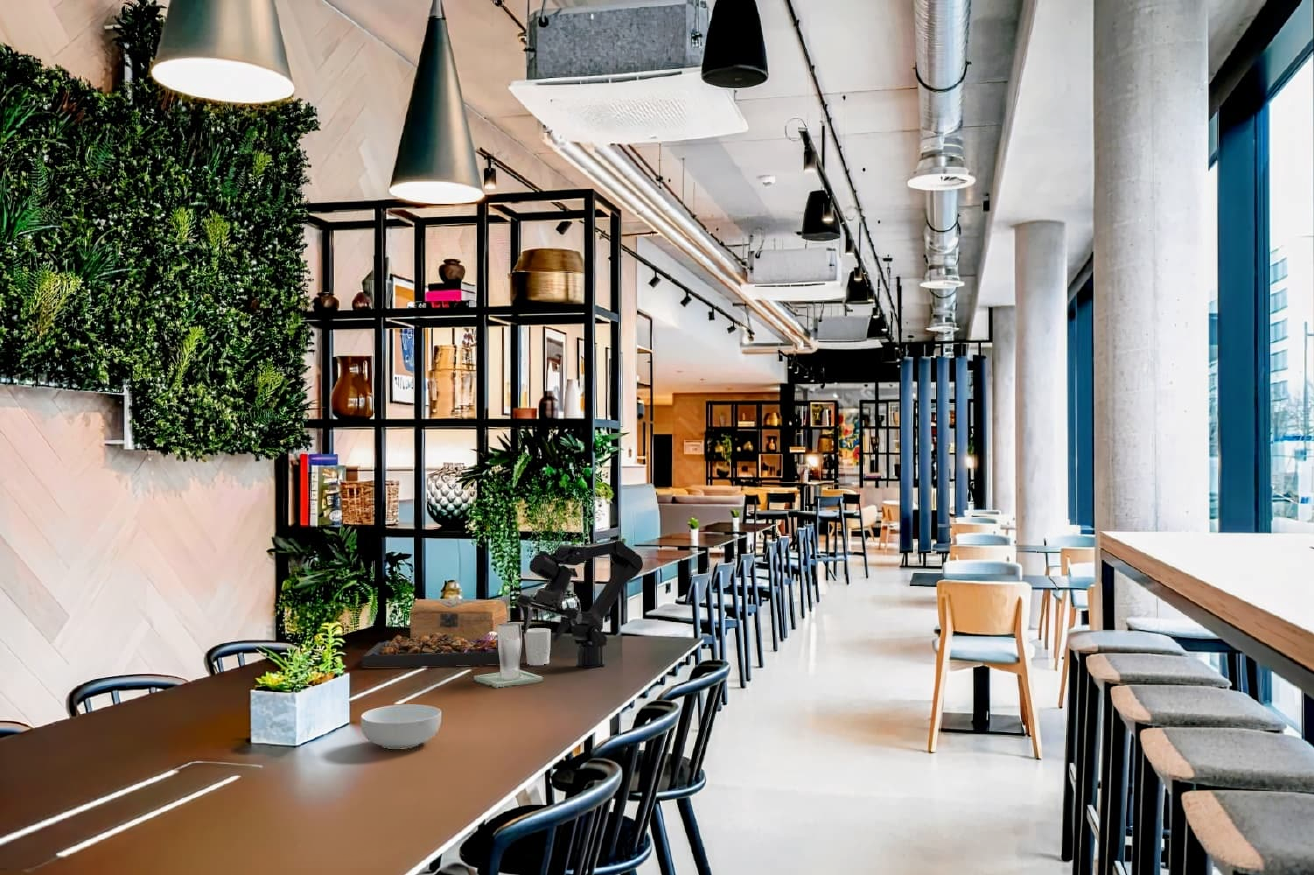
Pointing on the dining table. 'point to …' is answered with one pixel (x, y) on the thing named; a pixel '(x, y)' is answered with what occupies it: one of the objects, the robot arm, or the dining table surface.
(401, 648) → the food platter
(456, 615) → the wooden box
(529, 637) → the white cup
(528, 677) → the tray
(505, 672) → the beer glass
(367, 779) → the dining table surface
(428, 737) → the cereal bowl
